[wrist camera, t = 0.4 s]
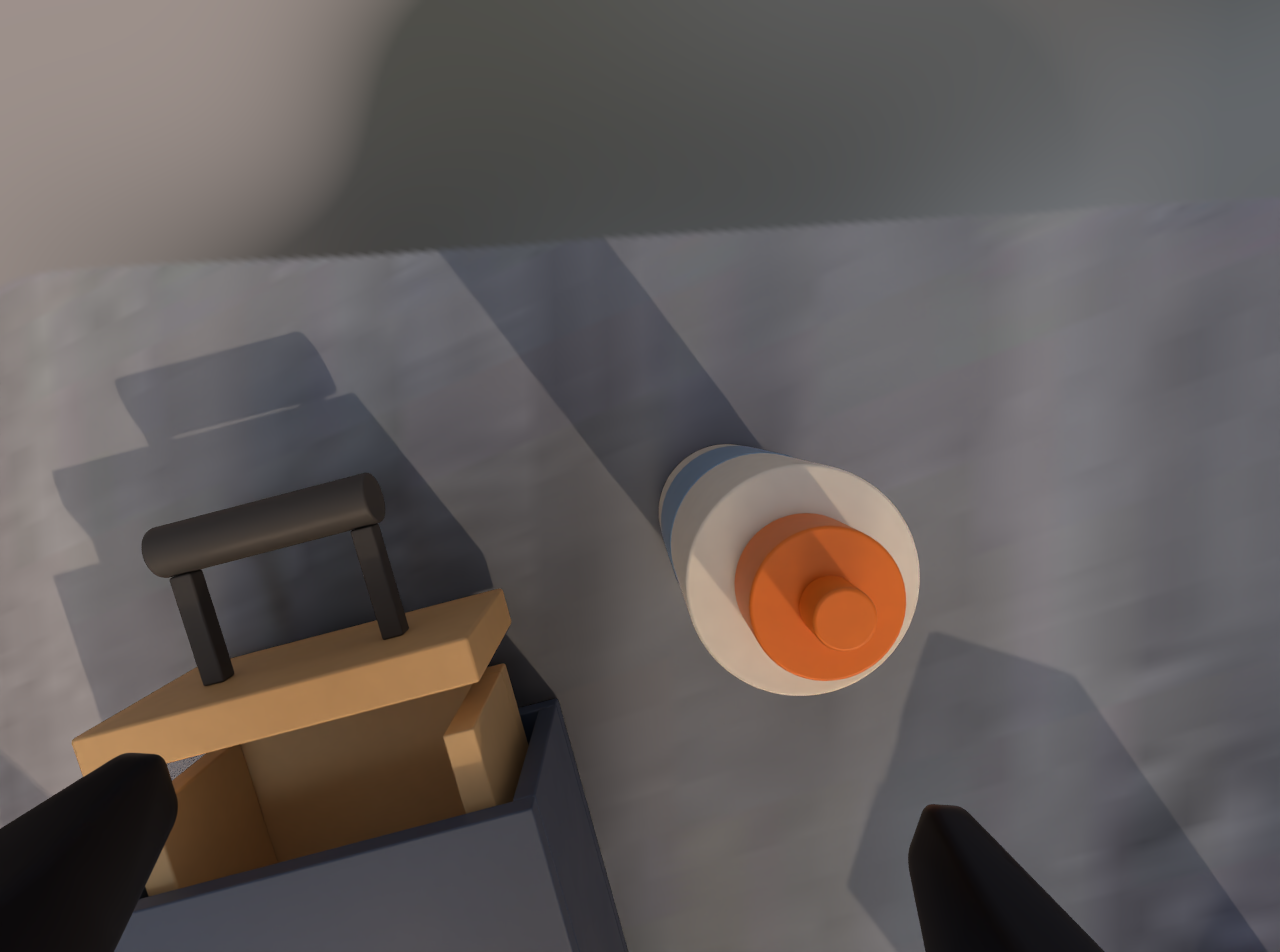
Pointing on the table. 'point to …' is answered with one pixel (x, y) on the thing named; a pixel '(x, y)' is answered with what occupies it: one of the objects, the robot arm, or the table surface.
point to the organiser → (420, 881)
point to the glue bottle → (788, 567)
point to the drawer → (317, 703)
